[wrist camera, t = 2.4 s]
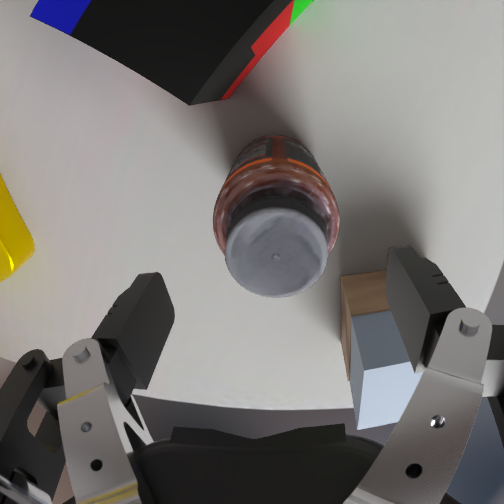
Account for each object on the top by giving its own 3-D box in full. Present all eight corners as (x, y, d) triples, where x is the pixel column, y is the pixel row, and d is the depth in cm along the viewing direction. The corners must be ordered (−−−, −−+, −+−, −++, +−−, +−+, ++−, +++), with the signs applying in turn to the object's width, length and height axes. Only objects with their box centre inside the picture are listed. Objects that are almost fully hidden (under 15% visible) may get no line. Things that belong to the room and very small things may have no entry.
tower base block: (340, 275, 25) (350, 314, 21) (426, 263, 24) (449, 297, 20) (340, 341, 29) (347, 381, 25) (415, 329, 28) (430, 365, 24)
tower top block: (351, 316, 21) (363, 370, 17) (449, 298, 20) (476, 343, 15) (349, 382, 25) (357, 429, 21) (432, 365, 24) (448, 408, 19)
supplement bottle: (219, 191, 22) (174, 280, 13) (257, 118, 20) (237, 148, 10) (291, 227, 23) (300, 335, 14) (333, 160, 21) (383, 229, 11)
